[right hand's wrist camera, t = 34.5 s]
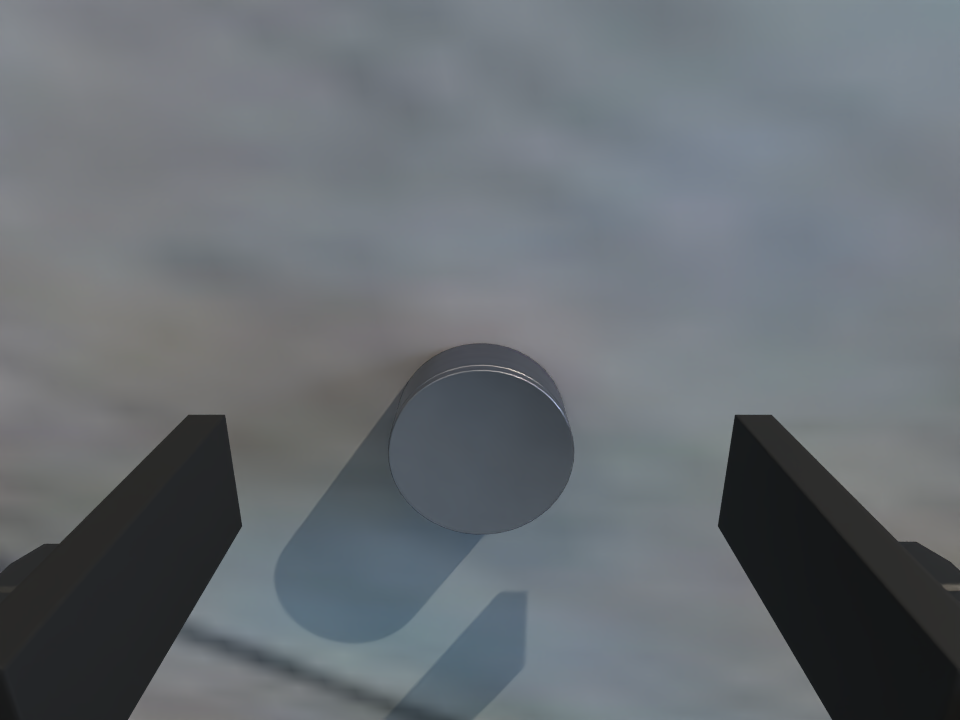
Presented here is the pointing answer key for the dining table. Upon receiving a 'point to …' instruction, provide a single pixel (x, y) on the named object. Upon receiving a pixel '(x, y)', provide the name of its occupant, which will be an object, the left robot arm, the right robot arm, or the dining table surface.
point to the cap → (481, 440)
